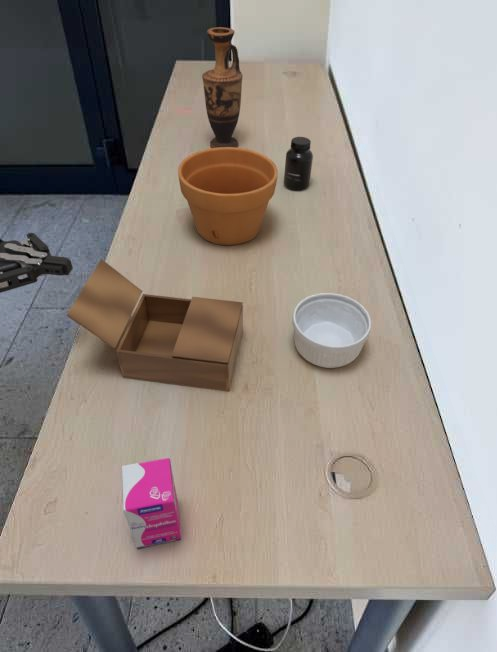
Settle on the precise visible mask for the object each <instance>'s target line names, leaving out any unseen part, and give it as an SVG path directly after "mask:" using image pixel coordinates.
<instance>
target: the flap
mask: <svg viewBox="0 0 497 652" xmlns="http://www.w3.org/2000/svg"><path fill="white" fill-rule="evenodd" d="M142 293H143V290H142V289H141V288H140V287H138V286H137V285H135V284H134V283H133V282H132V281H130V280H129V279H128V278H126V276H124V275H123V274H122V273H120V272H119V271H117V269H115V268H114V267H113V266H112V265H110V264H109V263H107V262H106V261H105V260H104V259H102V258H100V260H99V261H98V262H97V265H96V266H95V268H94V269H93V271H92V272H91V274H90V276H89V277H88V279H87V281H86V283H84V286H83V287H82V289H81V290H80V292H79V294H78V296H77V297H76V299H75V300H74V302H73V303H72V305H71V307H70V308H69V310H68V311H67V313H66V317H68V318H70V320H72V321H74V322H75V323H77V324H78V325H80V326H81V327H83V328H84V329H85V330H87V331H88V332H89V333H91V334H93V335H94V336H96V337H97V338H98V339H99V340H101V341H102V342H104V343H105V344H107V345H108V346H110V347H111V348H112V349H117V346H118V344H119V342H120V340H121V338H122V336H123V333H124V332H125V330H126V328H127V326H128V322H129V321H130V319H131V317H132V315H133V313H134V311H135V309H136V307H137V305H138V304H137V303H138V302H139V299H140V298H141V296H142Z"/></svg>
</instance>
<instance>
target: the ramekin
mask: <svg viewBox="0 0 497 652" xmlns="http://www.w3.org/2000/svg"><path fill="white" fill-rule="evenodd" d="M291 323H292V327H293V340H294V346H295V348H296V350H297V352H298V353H299V354H300V356H302V358H303V359H305V360H306V361H307V362H308V363H310V364H312V365H315V366H317V367H320V368H325V369H334V368H335V369H336V368H340V367H344V366H347V365H349V364H350V363H352V362H353V361H355V359H356V358H358V356H359V355H360V354H361V351H362V349H363V347H364V345H365V342H366V341H367V340H368V339H369V336H370V333H371V329H372V319H371V316H370V314H369V312H368V311H367V309H366V308H365V307H364V306H363V304H361V303H360V302H358V301H357V300H355V299H354V298H351V297H349V296H346V295H345V294H340V293H335V292H334V293H333V292H321V293H320V292H319V293H314V294H313V295H309V296H307V297H304V298H303V299H302V300H300V301H299V302H298V303H297V305H296V306H295V308H294V309H293V313H292V318H291Z"/></svg>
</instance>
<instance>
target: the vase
mask: <svg viewBox="0 0 497 652" xmlns="http://www.w3.org/2000/svg"><path fill="white" fill-rule="evenodd" d="M206 33H207V35H208V38H209V40H210V41H211V42H212V43H213V45H214V50H215V54H214V55H215V65H214V67H213V69H209V70H206V71H205V72H203V73H202V75H201V76H202V83H203V93H204V102H205V108H206V110H205V111H206V115H207V119H208V123H209V125H210V128H211V130H212V132H213V134H214V137H213V138H212V139H211V140H210V142H209V147H210V149H211V148H219V147H236V148H239V141H238V139H237V138H236V137H233V134H234V133H235V130H236V127H237V125H238V121H239V117H240V113H241V112H240V111H241V103H242V90H243V89H242V86H243V73H242V72H241V69H240V59H239V58H240V57H239V51H238V48H237V47H236V45H234V44H232V43H231V42H232V40H233V38H234V36H235V34H236V33H235V30H234V29H232V28H230V27H223V26H220V27H219V26H218V27H210V28H208V29H207V31H206ZM230 53H231V54H232V63H231V67H230Z"/></svg>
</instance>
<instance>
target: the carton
mask: <svg viewBox="0 0 497 652" xmlns="http://www.w3.org/2000/svg"><path fill="white" fill-rule="evenodd" d="M139 299H140V300H138V304H137V305H136V307H135V309H134V311H133V313H132V315H131V317H130V319H129V323H128V324H127V326H126V328H125V330H124V332H123V333H124V334H122V336H121V338H120V341H119V343H118V345H117V347H116V350H115V353H116V354H115V355H116V358H117V362H118V365H119V369H120V372H121V375H122V376H121V377H122V378H123V379H132V380H138V381H139V380H140V381H147V382H155V383H162V384H167V385H169V384H170V385H177V386H184V387H193V388H200V389H208V390H214V391H222V392H230V391H231V390H230V389H231V384H232V380H233V376H234V372H235V367H236V364H237V358H238V355H239V350H240V345H241V342H242V338H243V337H242V336H243V333H244V304H243V301H234V300H226V299H218V298H207V297H200V296H199V297H198V296H192V297H191V298H184V297H183V298H182V297H173V296H172V297H171V296H165V295H156V294H149V293H148V294H146V293H143V294H141V296H140V298H139Z"/></svg>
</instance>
